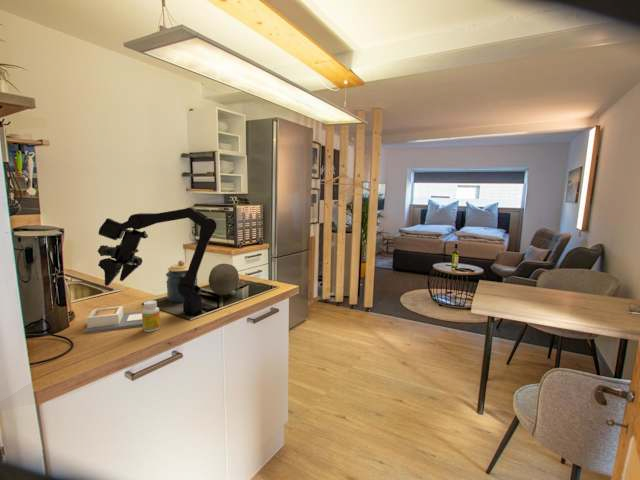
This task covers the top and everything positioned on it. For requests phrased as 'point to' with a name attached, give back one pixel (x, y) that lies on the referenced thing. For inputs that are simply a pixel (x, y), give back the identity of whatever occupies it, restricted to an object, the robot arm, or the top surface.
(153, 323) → the supplement bottle
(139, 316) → the rest pad
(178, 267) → the canister
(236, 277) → the cantaloupe
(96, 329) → the breaker panel
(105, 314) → the button
